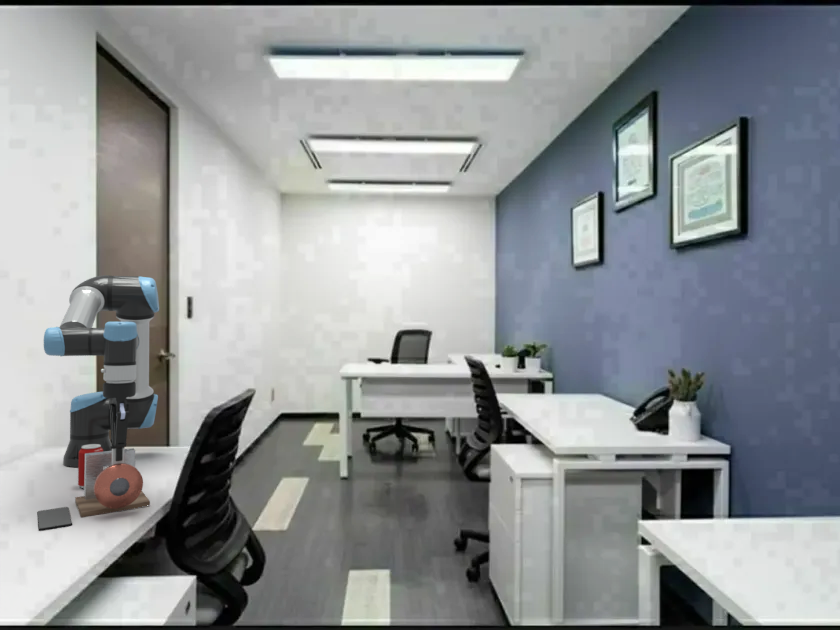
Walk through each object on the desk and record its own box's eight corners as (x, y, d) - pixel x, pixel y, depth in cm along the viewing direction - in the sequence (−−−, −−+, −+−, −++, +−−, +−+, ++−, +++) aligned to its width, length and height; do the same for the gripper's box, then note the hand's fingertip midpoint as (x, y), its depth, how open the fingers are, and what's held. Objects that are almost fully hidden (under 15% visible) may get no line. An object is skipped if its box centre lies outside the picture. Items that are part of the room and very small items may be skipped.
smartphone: (68, 506, 152) (72, 523, 140) (68, 509, 152) (72, 527, 140) (37, 510, 148) (38, 528, 136) (36, 514, 148) (38, 532, 136)
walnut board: (75, 501, 157) (75, 497, 157) (139, 492, 166) (139, 487, 166) (80, 517, 145) (81, 512, 145) (149, 506, 155) (149, 501, 155)
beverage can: (91, 490, 166) (92, 449, 166) (72, 488, 168) (73, 447, 168) (107, 484, 173) (108, 444, 172) (89, 482, 174) (90, 442, 174)
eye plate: (83, 501, 157) (84, 453, 157) (132, 493, 164) (133, 448, 164) (85, 504, 155) (86, 455, 155) (134, 496, 162) (135, 450, 162)
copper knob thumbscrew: (87, 495, 156) (87, 454, 156) (131, 488, 162) (132, 449, 162) (94, 512, 143) (95, 468, 143) (143, 505, 150) (144, 462, 149)
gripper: (99, 379, 152) (97, 468, 152) (106, 384, 141) (104, 481, 141) (131, 378, 156) (129, 464, 156) (140, 383, 146) (138, 476, 146)
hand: (117, 472), depth 149 cm, fingers closed
